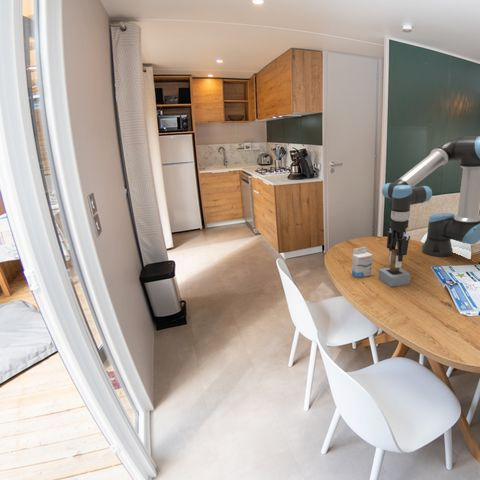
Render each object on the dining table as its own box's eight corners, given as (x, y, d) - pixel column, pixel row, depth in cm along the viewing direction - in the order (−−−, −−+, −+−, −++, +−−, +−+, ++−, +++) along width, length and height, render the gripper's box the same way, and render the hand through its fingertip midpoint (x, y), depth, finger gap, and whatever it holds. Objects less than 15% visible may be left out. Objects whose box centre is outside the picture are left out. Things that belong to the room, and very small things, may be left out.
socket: (396, 274, 155) (397, 266, 153) (409, 283, 145) (410, 274, 144) (378, 277, 153) (379, 269, 152) (390, 287, 144) (391, 277, 142)
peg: (395, 270, 150) (397, 248, 146) (400, 273, 146) (402, 251, 142) (387, 271, 149) (389, 249, 145) (393, 275, 146) (395, 252, 142)
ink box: (356, 278, 155) (358, 252, 150) (351, 274, 159) (352, 248, 155) (371, 275, 156) (373, 249, 152) (365, 271, 161) (367, 246, 156)
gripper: (380, 215, 146) (377, 259, 154) (404, 225, 130) (399, 273, 138) (394, 213, 147) (390, 257, 155) (420, 223, 131) (414, 271, 139)
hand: (395, 264), depth 146 cm, fingers closed on peg, 4 cm apart
